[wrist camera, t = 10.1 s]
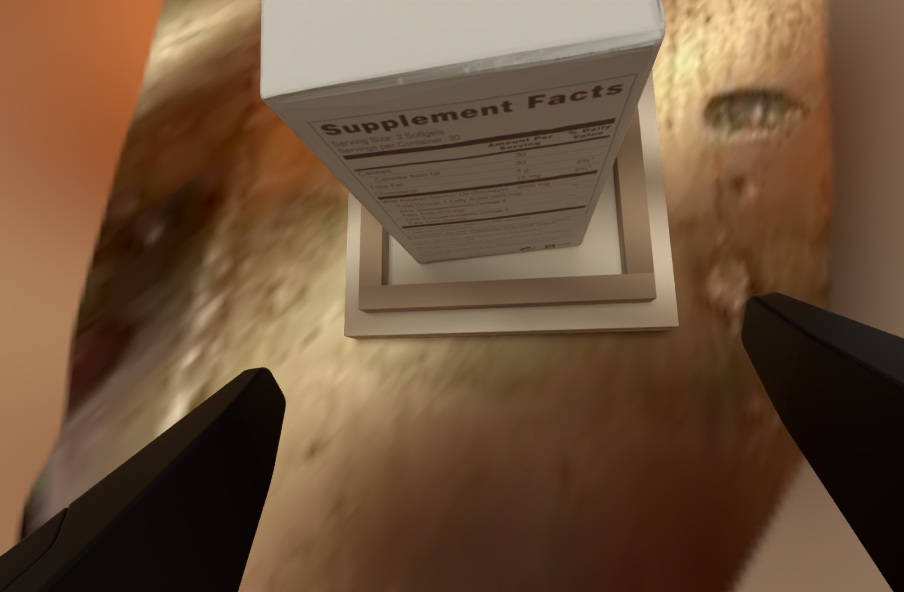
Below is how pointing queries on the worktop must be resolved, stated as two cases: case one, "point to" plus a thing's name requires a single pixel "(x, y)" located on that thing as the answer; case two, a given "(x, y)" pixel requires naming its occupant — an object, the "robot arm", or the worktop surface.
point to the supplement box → (463, 110)
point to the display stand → (530, 267)
